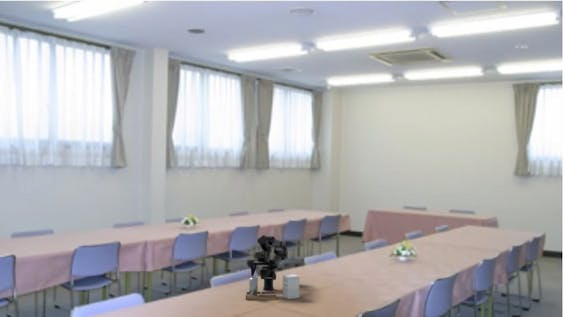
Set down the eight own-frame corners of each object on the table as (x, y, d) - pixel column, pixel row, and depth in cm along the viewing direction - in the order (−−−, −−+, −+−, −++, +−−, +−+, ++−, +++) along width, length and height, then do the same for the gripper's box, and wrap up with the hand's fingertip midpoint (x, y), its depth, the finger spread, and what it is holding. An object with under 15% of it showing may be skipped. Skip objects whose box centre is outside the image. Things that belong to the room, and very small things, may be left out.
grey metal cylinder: (248, 294, 296) (248, 277, 296) (256, 294, 297) (256, 277, 297) (250, 296, 291) (250, 279, 291) (258, 296, 292) (258, 278, 292)
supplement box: (293, 295, 300) (293, 273, 301) (299, 298, 294) (299, 275, 294) (282, 296, 297) (282, 274, 298) (288, 299, 290) (288, 277, 291)
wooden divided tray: (245, 296, 298) (245, 291, 298) (275, 295, 299) (275, 291, 299) (245, 299, 289) (245, 295, 289) (276, 299, 290) (276, 294, 290)
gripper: (246, 246, 310) (239, 268, 300) (274, 245, 303) (268, 268, 293) (253, 256, 317) (246, 278, 307) (281, 256, 310) (275, 279, 300)
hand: (258, 276), depth 301 cm, fingers open, 9 cm apart
